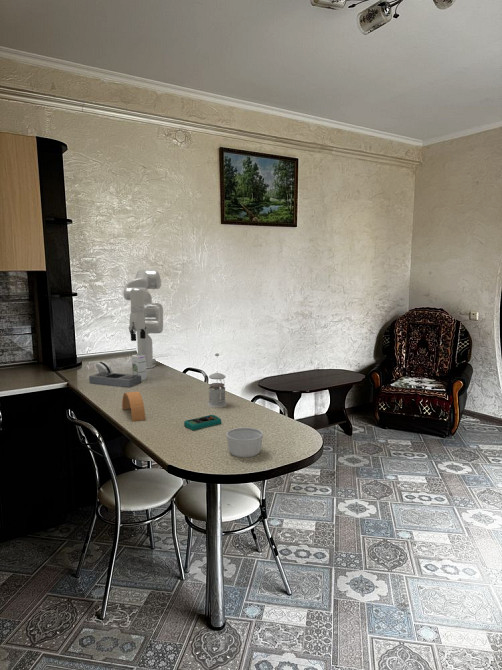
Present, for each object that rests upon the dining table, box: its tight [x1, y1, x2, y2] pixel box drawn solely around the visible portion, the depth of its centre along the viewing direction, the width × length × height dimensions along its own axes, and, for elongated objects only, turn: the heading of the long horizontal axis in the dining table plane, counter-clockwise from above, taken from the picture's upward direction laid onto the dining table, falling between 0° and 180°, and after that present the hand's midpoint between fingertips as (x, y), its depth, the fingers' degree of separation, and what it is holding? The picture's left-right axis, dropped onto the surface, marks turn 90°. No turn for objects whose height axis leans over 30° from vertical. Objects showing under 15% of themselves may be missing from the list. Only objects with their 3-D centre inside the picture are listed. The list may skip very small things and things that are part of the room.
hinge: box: [95, 361, 114, 373], centre depth 280 cm, size 17×5×10 cm, turn 37°
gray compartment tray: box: [88, 372, 142, 388], centre depth 264 cm, size 12×26×4 cm, turn 71°
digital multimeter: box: [183, 414, 222, 431], centre depth 196 cm, size 7×15×3 cm, turn 129°
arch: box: [121, 391, 146, 422], centre depth 209 cm, size 6×20×10 cm, turn 27°
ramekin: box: [225, 426, 264, 458], centre depth 168 cm, size 13×13×7 cm
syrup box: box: [131, 353, 147, 381], centre depth 272 cm, size 6×6×14 cm
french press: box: [206, 353, 228, 408], centre depth 225 cm, size 10×12×25 cm
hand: (138, 339), depth 270 cm, fingers open, 9 cm apart
